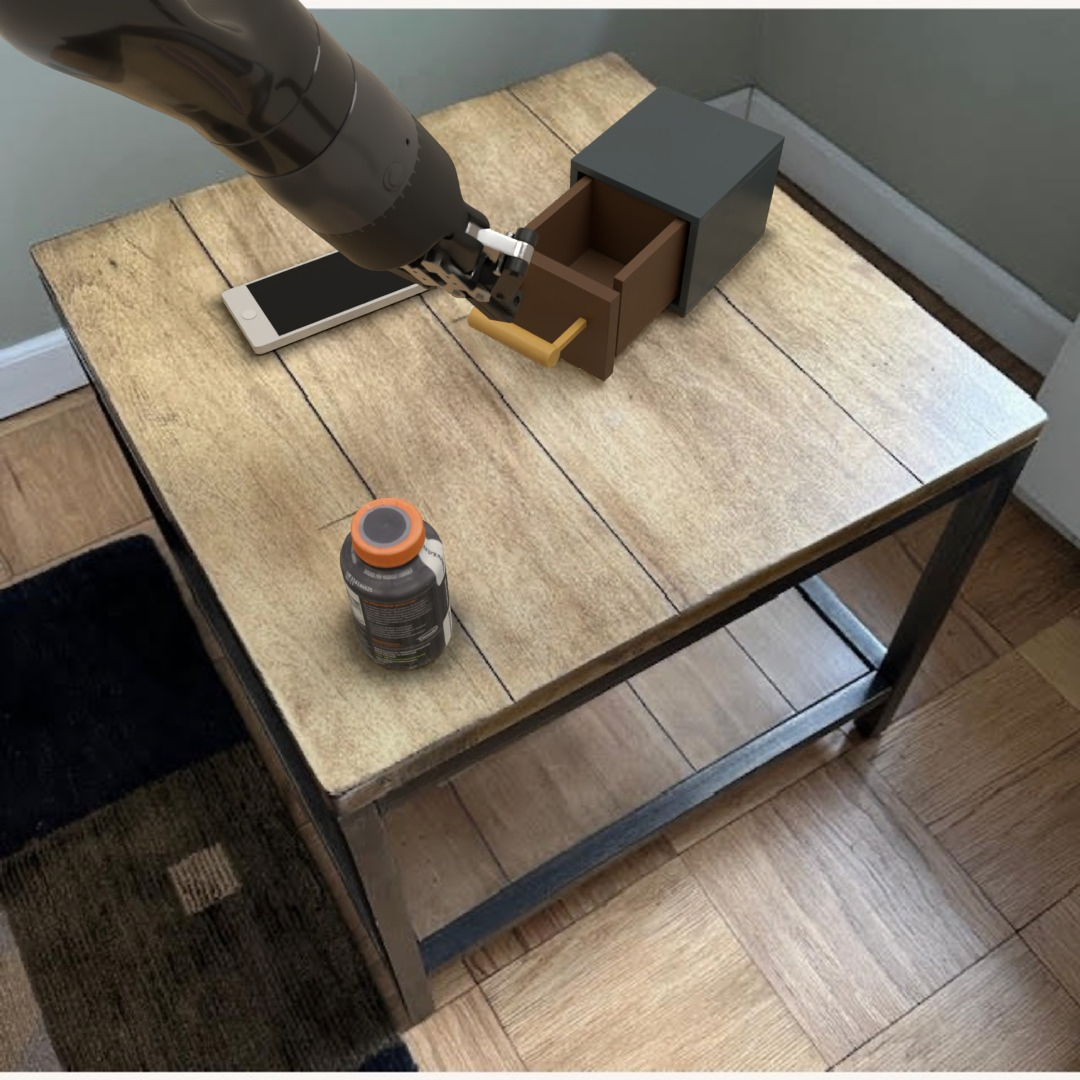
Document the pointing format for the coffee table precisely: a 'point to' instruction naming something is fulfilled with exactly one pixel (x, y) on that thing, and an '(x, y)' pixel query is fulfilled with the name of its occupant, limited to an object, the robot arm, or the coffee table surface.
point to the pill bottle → (396, 584)
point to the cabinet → (691, 178)
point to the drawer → (593, 278)
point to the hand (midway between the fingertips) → (507, 307)
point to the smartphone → (311, 299)
